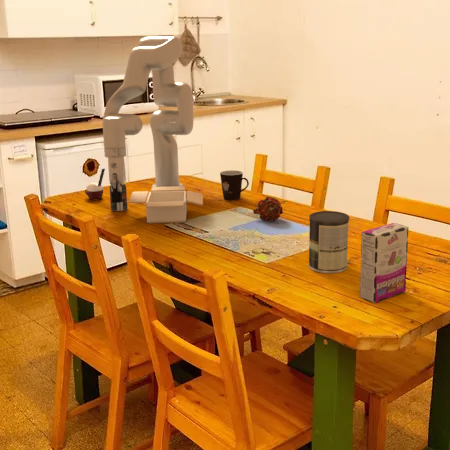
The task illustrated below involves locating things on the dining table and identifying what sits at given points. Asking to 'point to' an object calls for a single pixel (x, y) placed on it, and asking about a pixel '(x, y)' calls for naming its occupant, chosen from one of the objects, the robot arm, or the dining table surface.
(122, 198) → the pill bottle
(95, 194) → the cocoa
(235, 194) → the coffee mug
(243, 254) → the dining table surface
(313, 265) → the coffee can
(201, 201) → the flap
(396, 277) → the candy bar box
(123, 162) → the robot arm
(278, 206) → the dark red rounded piece
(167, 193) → the carton
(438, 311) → the dining table surface
